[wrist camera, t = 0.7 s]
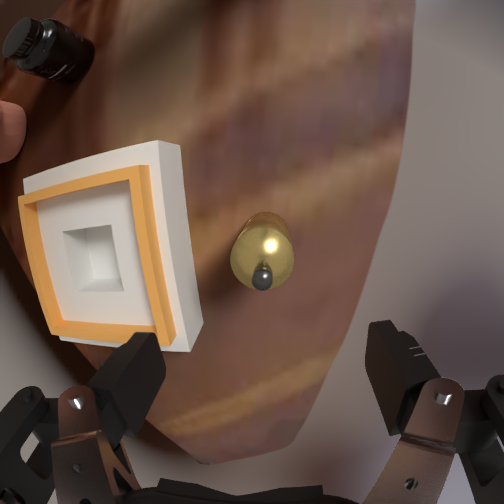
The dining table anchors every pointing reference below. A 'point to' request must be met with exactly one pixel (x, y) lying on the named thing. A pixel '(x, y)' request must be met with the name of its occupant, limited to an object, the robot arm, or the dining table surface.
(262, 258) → the oil can
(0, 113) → the decorative flower
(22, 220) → the white box with knob
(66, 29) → the supplement bottle
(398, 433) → the robot arm
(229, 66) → the dining table surface
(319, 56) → the dining table surface
